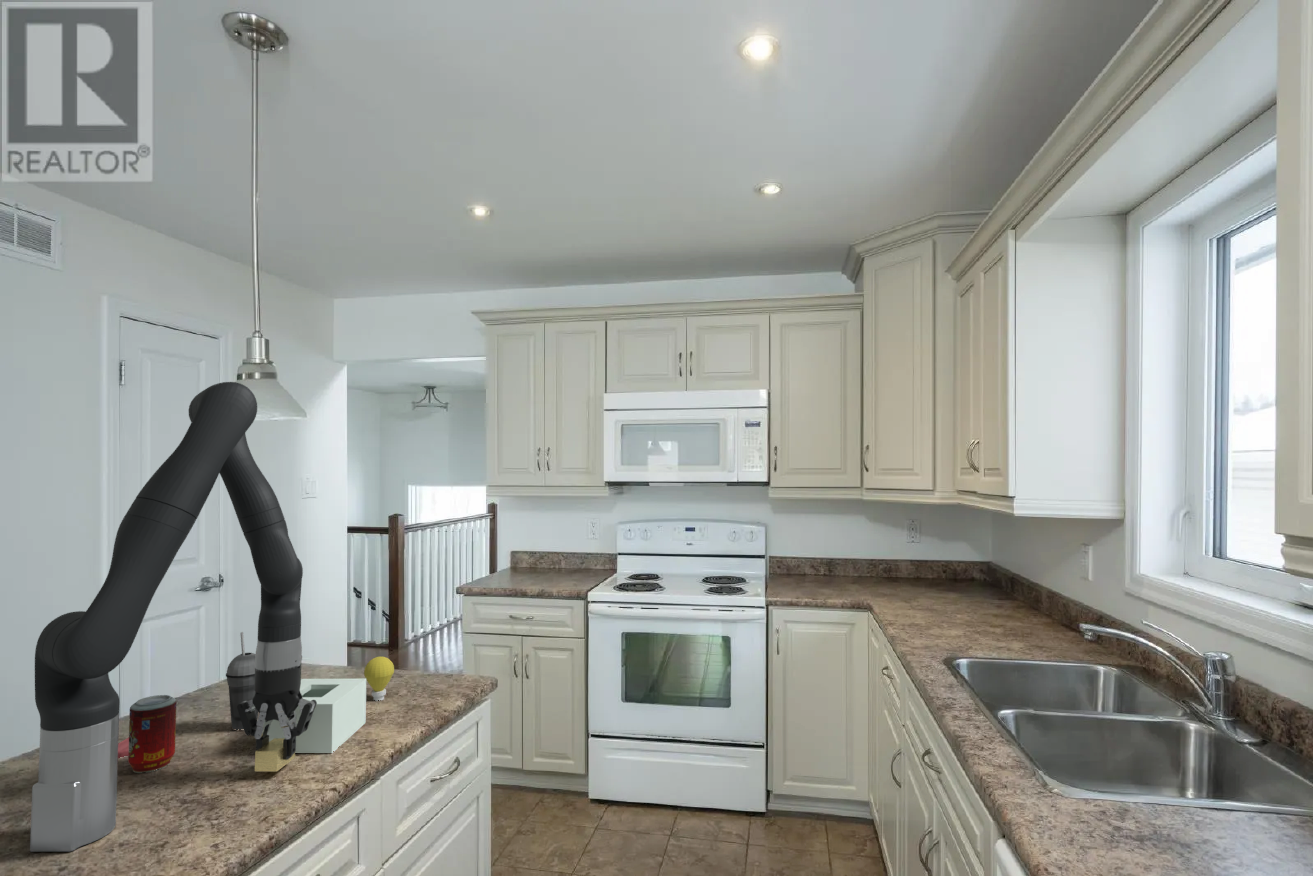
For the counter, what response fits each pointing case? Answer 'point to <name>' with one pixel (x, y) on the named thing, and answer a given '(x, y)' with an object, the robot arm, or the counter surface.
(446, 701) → the counter surface
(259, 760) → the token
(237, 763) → the counter surface
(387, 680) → the light bulb
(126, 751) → the popsicle
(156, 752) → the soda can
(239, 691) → the beverage cup
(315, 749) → the box
